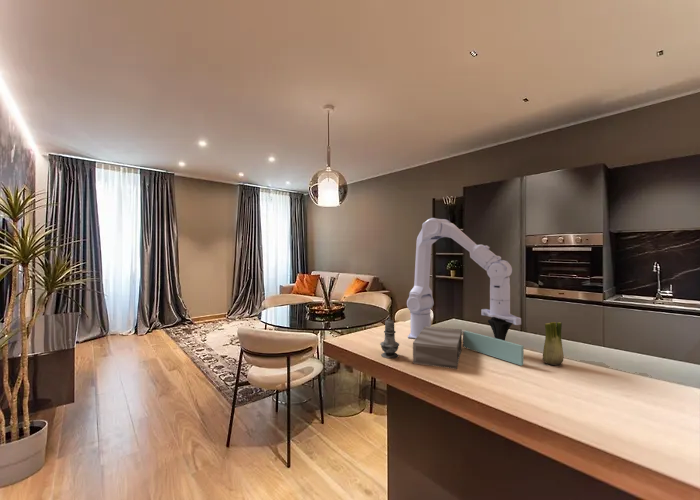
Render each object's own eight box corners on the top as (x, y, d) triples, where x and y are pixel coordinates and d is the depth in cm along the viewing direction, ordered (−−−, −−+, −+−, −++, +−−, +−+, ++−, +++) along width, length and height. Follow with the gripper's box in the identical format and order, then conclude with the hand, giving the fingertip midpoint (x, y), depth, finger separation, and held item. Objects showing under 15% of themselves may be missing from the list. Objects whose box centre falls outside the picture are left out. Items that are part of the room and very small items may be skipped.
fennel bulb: (560, 361, 94) (560, 320, 94) (568, 367, 90) (569, 324, 89) (538, 360, 95) (538, 319, 95) (546, 366, 90) (546, 323, 90)
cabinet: (424, 343, 112) (424, 326, 112) (461, 347, 108) (461, 329, 107) (413, 363, 94) (412, 342, 94) (456, 369, 89) (456, 347, 89)
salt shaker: (393, 360, 96) (393, 319, 96) (376, 356, 100) (376, 317, 100) (402, 354, 101) (402, 316, 101) (386, 351, 105) (386, 313, 104)
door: (462, 346, 107) (462, 330, 107) (466, 345, 108) (465, 329, 108) (521, 365, 91) (521, 346, 90) (525, 364, 92) (525, 345, 91)
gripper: (473, 296, 107) (473, 337, 108) (507, 304, 94) (507, 351, 94) (491, 295, 110) (491, 335, 110) (526, 302, 96) (526, 348, 96)
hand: (500, 342), depth 102 cm, fingers closed
